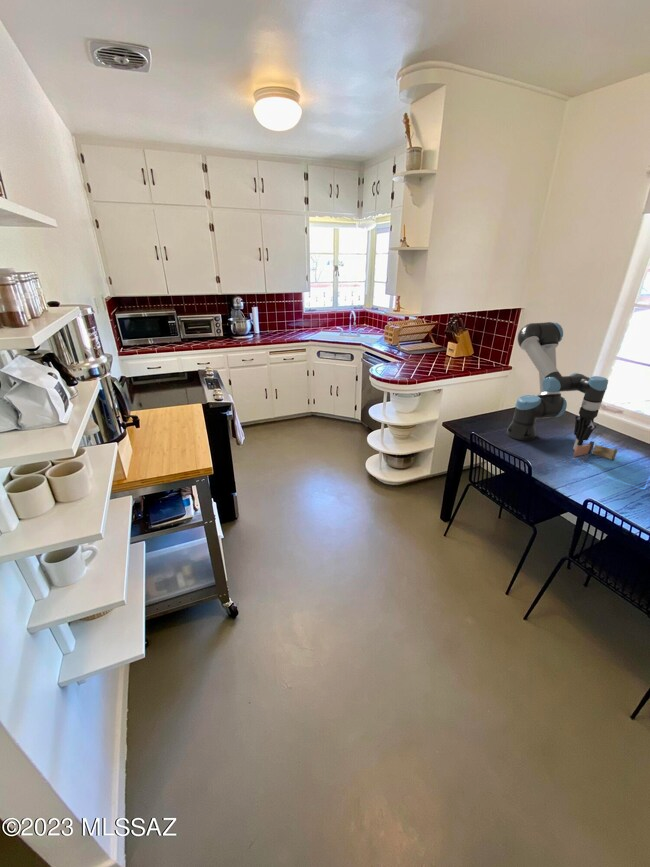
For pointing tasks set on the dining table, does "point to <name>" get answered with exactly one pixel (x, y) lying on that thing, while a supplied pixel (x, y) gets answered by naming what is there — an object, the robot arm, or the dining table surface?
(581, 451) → the hinged fence panel
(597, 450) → the fence post and fixed panel
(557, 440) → the dining table surface
